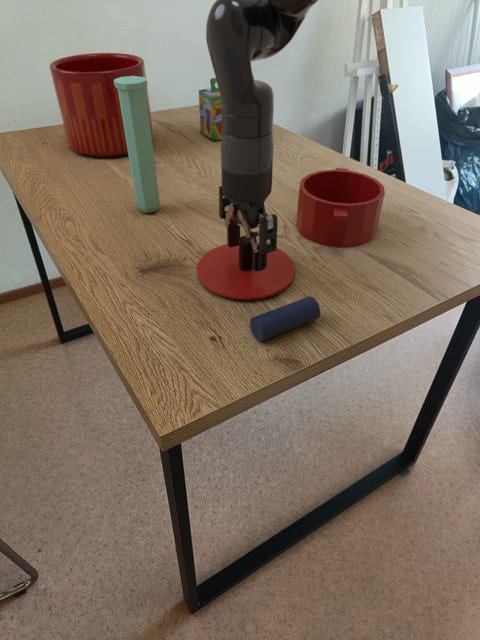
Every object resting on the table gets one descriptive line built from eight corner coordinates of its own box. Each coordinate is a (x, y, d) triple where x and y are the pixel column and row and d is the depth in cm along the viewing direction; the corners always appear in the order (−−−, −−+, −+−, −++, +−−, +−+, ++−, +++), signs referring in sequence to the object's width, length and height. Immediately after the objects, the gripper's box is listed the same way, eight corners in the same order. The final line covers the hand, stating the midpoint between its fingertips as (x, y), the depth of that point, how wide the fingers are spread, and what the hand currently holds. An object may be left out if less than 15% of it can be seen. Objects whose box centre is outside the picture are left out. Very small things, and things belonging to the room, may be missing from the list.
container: (168, 210, 95) (153, 80, 79) (144, 219, 92) (124, 86, 76) (153, 201, 99) (135, 74, 82) (129, 209, 96) (106, 79, 79)
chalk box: (213, 142, 127) (211, 84, 117) (199, 132, 133) (196, 76, 123) (242, 136, 130) (242, 80, 120) (227, 127, 136) (226, 72, 126)
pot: (373, 206, 97) (381, 167, 92) (378, 258, 81) (388, 216, 76) (300, 200, 99) (304, 162, 94) (291, 250, 83) (295, 208, 78)
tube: (304, 308, 70) (307, 291, 68) (318, 323, 68) (322, 306, 66) (249, 330, 66) (250, 312, 64) (261, 346, 64) (264, 329, 62)
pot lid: (298, 251, 83) (301, 219, 79) (289, 308, 71) (293, 273, 66) (209, 243, 85) (207, 211, 81) (185, 296, 73) (182, 262, 69)
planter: (135, 125, 137) (123, 49, 124) (168, 148, 123) (159, 65, 110) (59, 139, 128) (38, 58, 115) (84, 166, 113) (64, 77, 100)
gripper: (296, 174, 62) (288, 271, 73) (244, 142, 72) (244, 233, 82) (249, 185, 59) (248, 285, 70) (202, 151, 69) (207, 243, 79)
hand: (246, 257), depth 76 cm, fingers open, 8 cm apart
